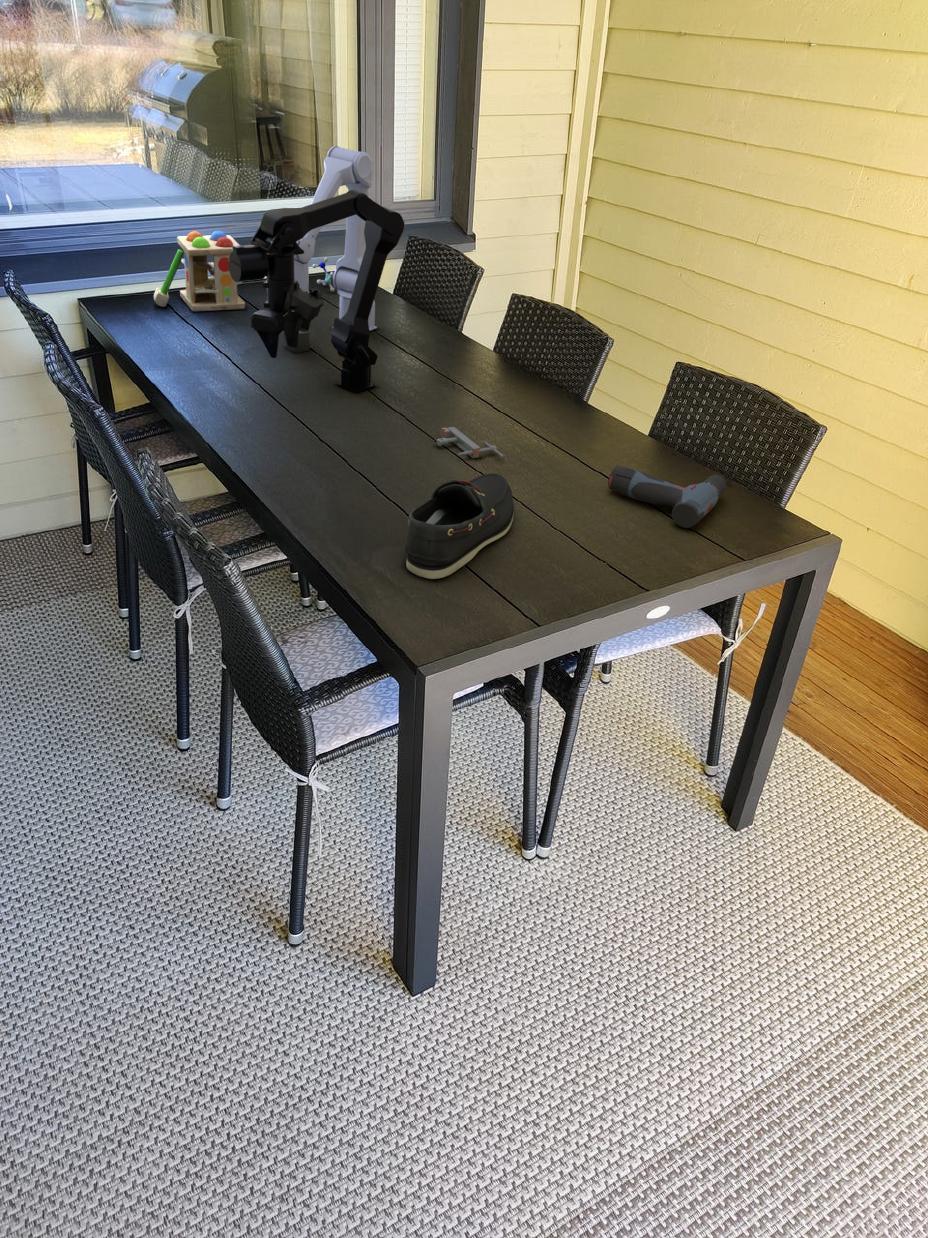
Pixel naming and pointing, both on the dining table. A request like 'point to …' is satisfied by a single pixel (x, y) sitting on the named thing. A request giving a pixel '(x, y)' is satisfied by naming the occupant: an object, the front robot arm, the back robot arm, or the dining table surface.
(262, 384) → the dining table surface
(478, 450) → the clamp
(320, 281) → the molecular model
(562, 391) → the dining table surface
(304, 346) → the metal block
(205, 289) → the pounding bench toy
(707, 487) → the power drill
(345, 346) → the front robot arm
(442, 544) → the boat shoe
